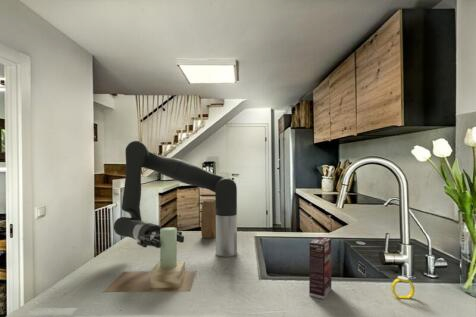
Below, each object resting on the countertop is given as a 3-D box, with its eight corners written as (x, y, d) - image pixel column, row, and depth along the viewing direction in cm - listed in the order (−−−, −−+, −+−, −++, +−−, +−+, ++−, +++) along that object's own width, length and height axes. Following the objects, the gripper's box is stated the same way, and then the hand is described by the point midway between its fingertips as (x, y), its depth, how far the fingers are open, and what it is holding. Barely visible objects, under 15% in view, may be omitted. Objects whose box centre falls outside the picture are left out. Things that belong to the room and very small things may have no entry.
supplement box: (325, 300, 82) (324, 244, 82) (308, 296, 84) (308, 242, 85) (332, 288, 89) (332, 238, 89) (317, 285, 92) (316, 236, 92)
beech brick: (184, 276, 97) (184, 261, 97) (179, 287, 88) (179, 271, 88) (158, 276, 97) (158, 261, 97) (150, 287, 88) (150, 271, 88)
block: (213, 239, 148) (213, 201, 149) (200, 238, 150) (199, 200, 150) (218, 234, 159) (218, 198, 159) (205, 233, 160) (205, 198, 161)
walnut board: (196, 274, 101) (196, 271, 101) (189, 295, 85) (189, 291, 85) (123, 275, 101) (123, 271, 101) (103, 296, 85) (103, 291, 85)
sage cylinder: (177, 263, 95) (177, 227, 95) (175, 268, 90) (175, 230, 90) (162, 263, 95) (162, 227, 95) (158, 269, 90) (158, 231, 90)
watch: (410, 297, 84) (412, 276, 84) (415, 301, 81) (416, 280, 82) (389, 294, 85) (390, 274, 85) (393, 299, 82) (395, 278, 82)
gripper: (128, 226, 98) (151, 234, 86) (165, 220, 108) (190, 226, 96) (128, 247, 97) (151, 259, 86) (165, 240, 108) (190, 249, 96)
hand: (171, 242), depth 91 cm, fingers open, 8 cm apart
